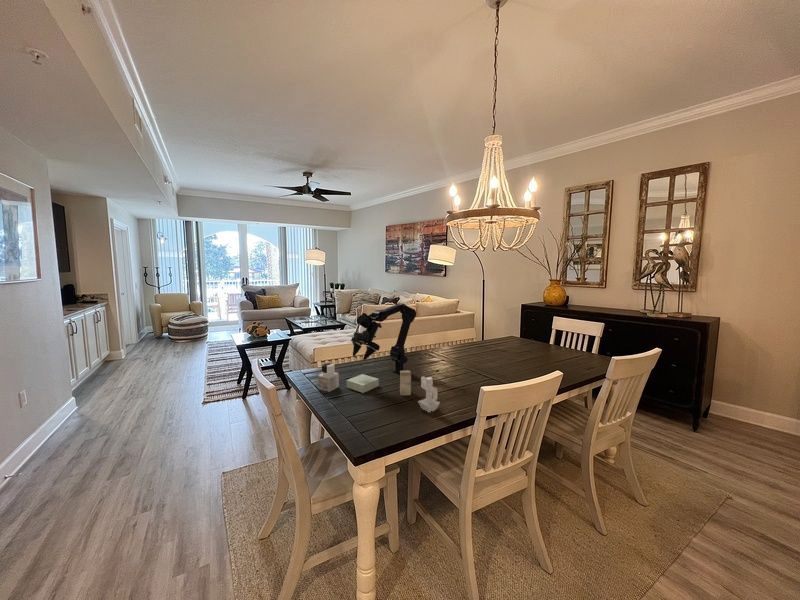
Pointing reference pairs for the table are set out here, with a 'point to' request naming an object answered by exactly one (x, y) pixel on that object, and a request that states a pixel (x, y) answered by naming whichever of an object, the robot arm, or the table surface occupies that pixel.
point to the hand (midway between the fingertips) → (358, 357)
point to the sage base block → (362, 383)
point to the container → (328, 378)
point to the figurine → (429, 395)
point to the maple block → (405, 382)
